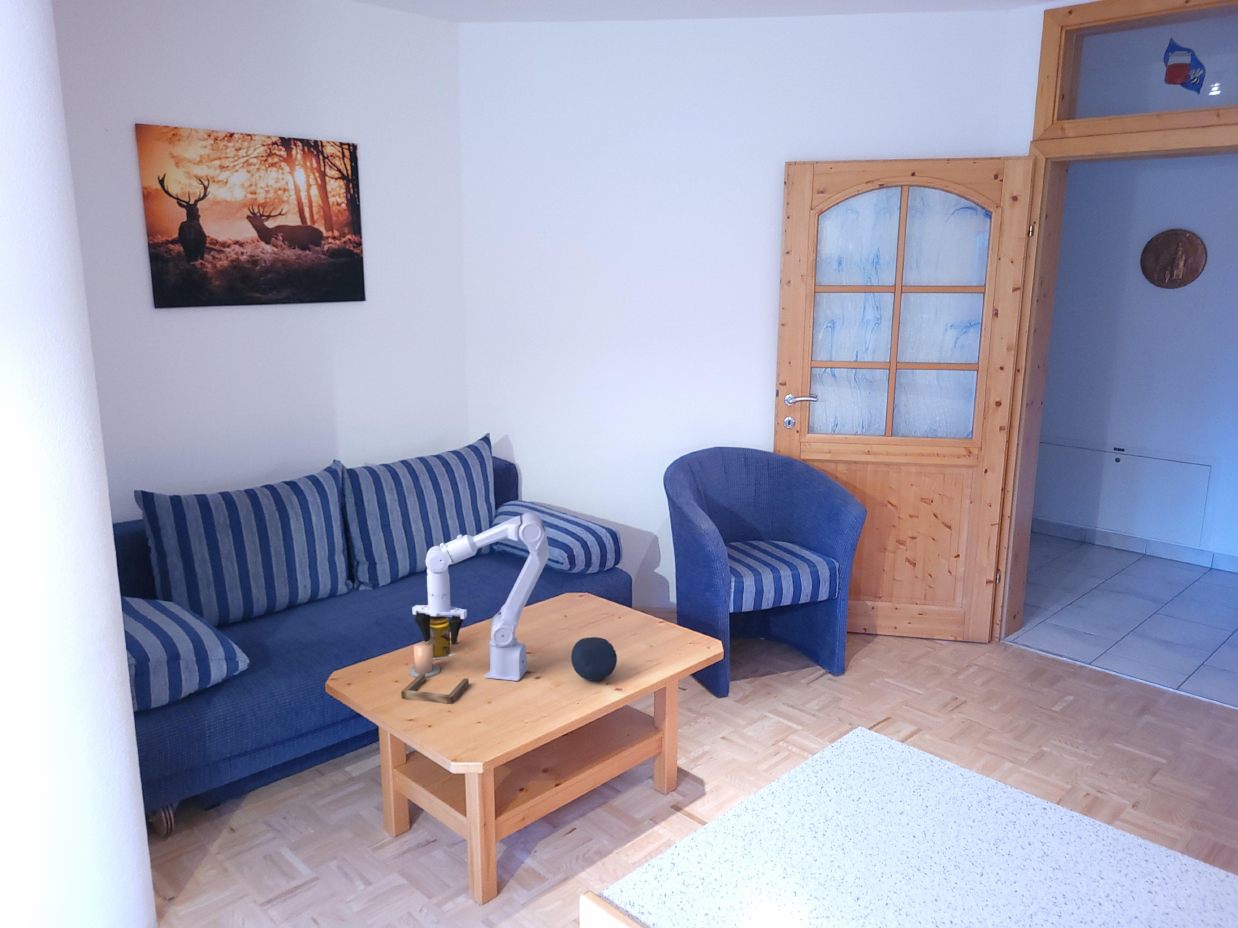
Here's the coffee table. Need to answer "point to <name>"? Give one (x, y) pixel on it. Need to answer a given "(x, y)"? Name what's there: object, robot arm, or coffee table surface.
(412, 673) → the coaster
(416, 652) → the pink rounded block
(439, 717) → the coffee table surface
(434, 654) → the condiment
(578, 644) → the decorative stone
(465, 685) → the holder
